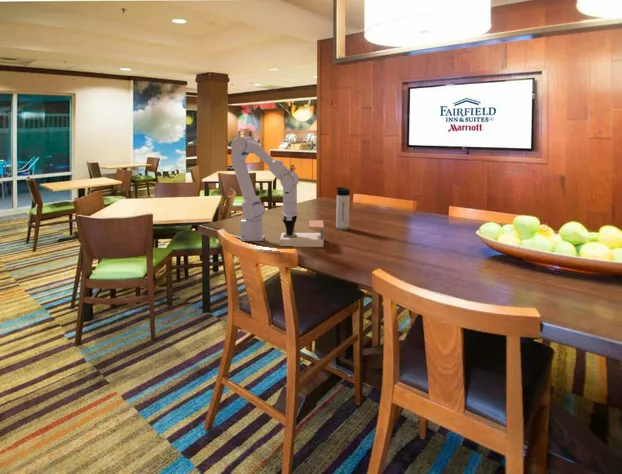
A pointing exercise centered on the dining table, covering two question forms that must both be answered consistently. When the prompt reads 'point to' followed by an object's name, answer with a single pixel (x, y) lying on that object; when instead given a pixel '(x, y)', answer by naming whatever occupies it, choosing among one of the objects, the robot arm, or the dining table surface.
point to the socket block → (305, 237)
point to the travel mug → (342, 208)
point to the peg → (291, 235)
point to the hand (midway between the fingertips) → (290, 233)
